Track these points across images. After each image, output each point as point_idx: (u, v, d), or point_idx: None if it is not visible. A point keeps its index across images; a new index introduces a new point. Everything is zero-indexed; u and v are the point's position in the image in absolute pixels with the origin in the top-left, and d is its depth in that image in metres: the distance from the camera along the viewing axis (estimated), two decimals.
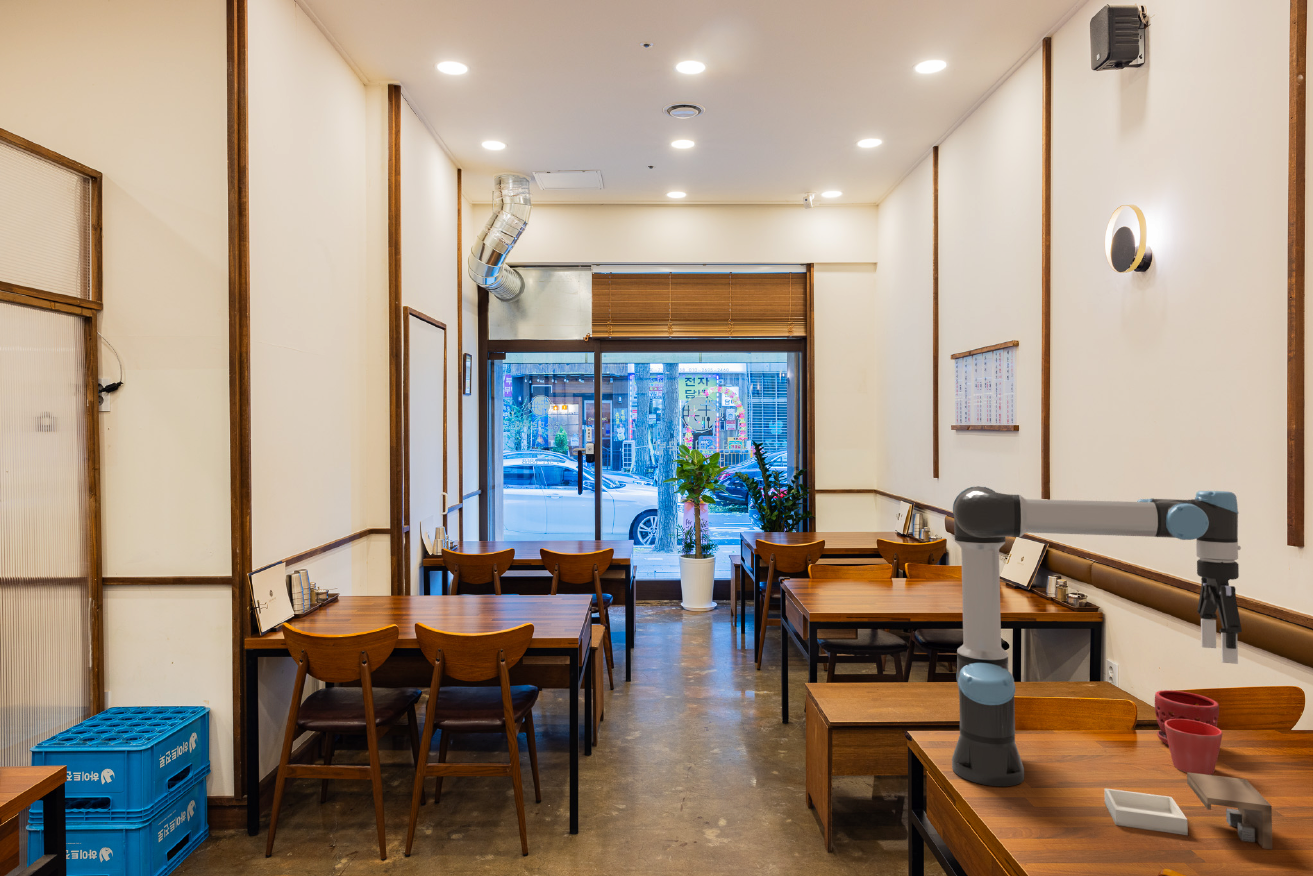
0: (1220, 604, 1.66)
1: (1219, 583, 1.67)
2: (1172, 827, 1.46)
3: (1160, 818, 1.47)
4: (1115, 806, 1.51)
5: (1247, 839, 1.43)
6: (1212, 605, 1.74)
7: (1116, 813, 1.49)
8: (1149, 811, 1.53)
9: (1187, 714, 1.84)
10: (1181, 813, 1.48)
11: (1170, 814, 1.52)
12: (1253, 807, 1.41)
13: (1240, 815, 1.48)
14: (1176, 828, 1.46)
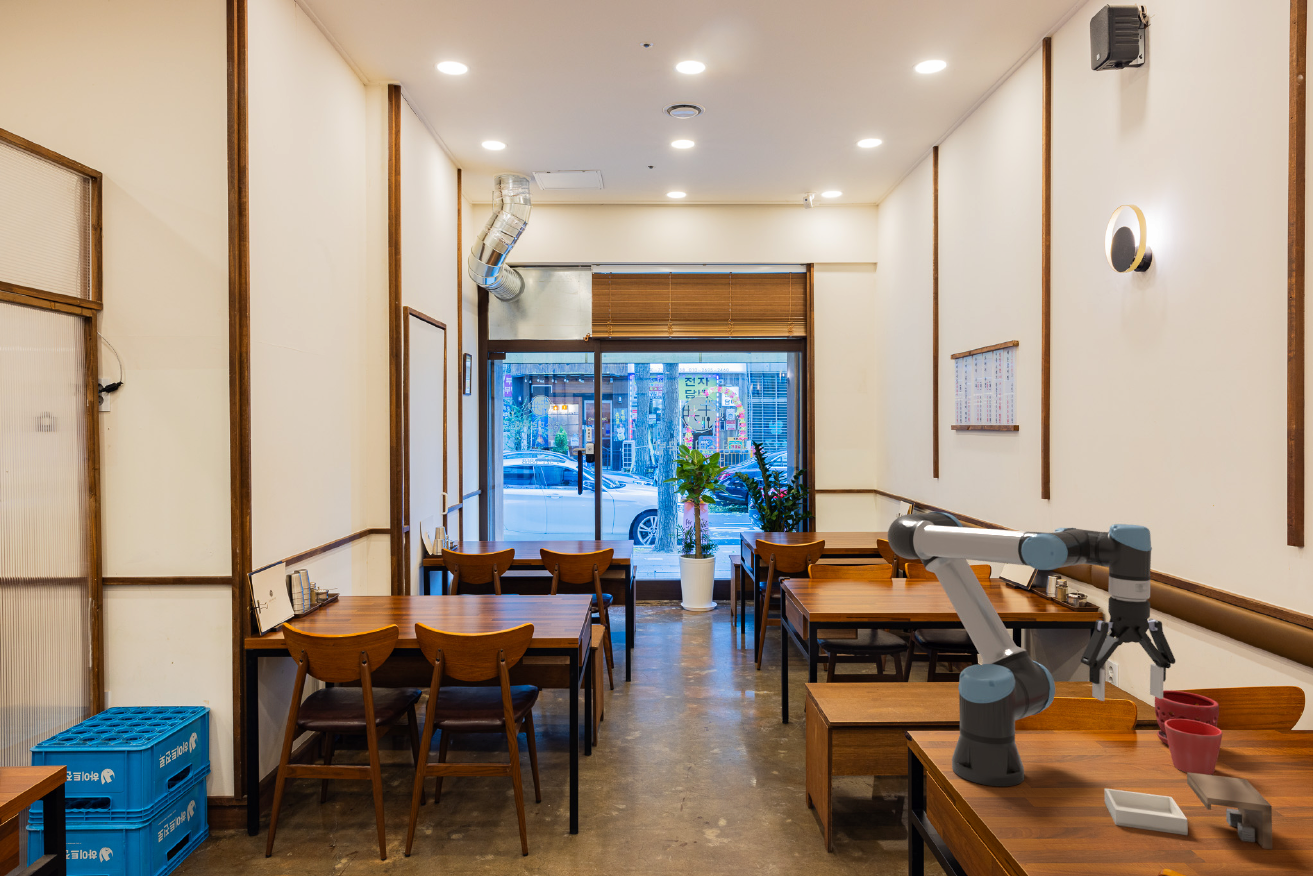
0: (1106, 640, 1.62)
1: (1110, 619, 1.62)
2: (1172, 827, 1.46)
3: (1160, 818, 1.47)
4: (1115, 806, 1.51)
5: (1247, 839, 1.43)
6: (1147, 649, 1.62)
7: (1116, 813, 1.49)
8: (1149, 811, 1.53)
9: (1187, 714, 1.84)
10: (1181, 813, 1.48)
11: (1170, 814, 1.52)
12: (1253, 807, 1.41)
13: (1240, 815, 1.48)
14: (1176, 828, 1.46)
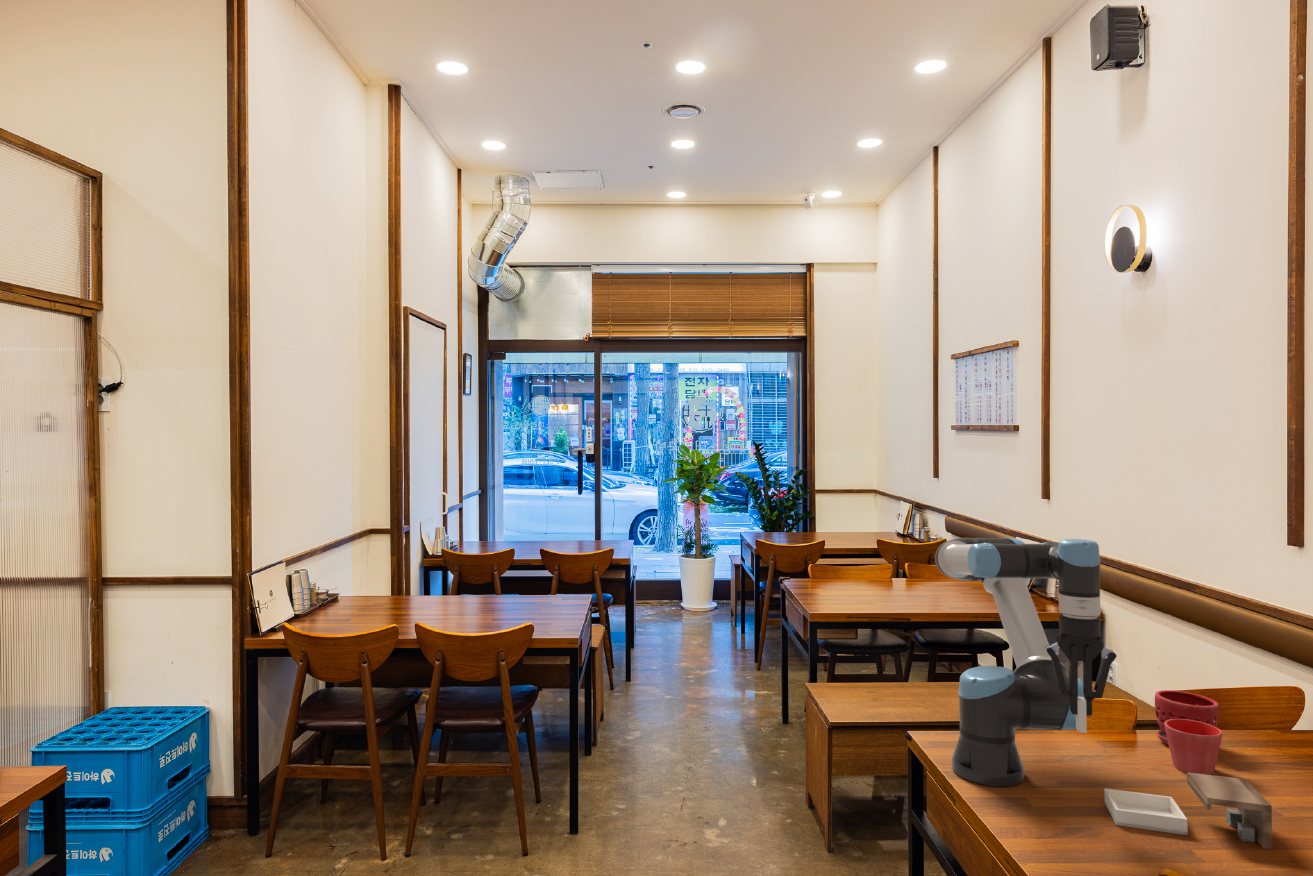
0: (1069, 664, 1.57)
1: None
2: (1172, 827, 1.46)
3: (1160, 818, 1.47)
4: (1115, 806, 1.51)
5: (1247, 839, 1.43)
6: (1084, 674, 1.56)
7: (1116, 813, 1.49)
8: (1149, 811, 1.53)
9: (1187, 714, 1.84)
10: (1181, 813, 1.48)
11: (1170, 814, 1.52)
12: (1253, 807, 1.41)
13: (1240, 815, 1.48)
14: (1176, 828, 1.46)
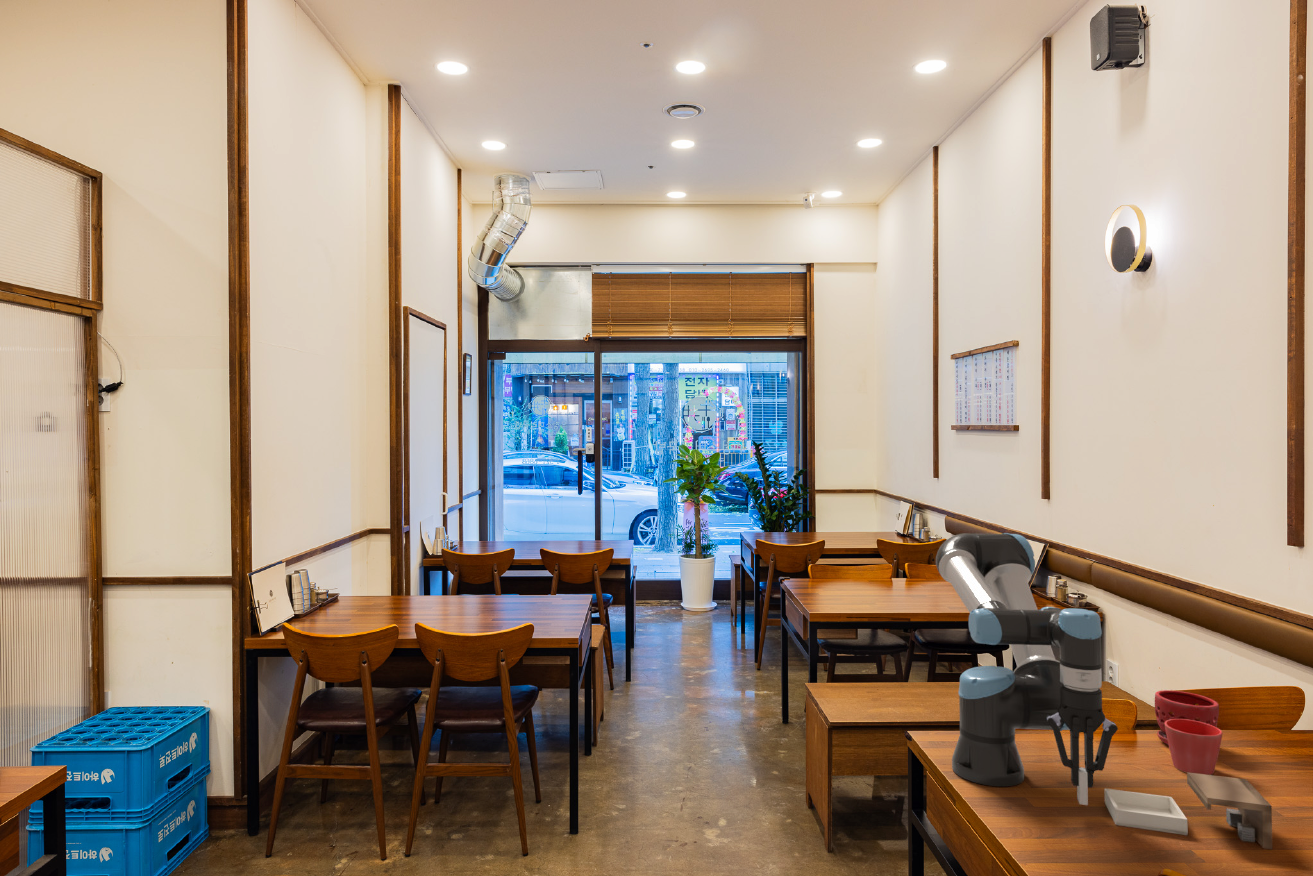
0: (1070, 735, 1.57)
1: None
2: (1172, 827, 1.46)
3: (1160, 818, 1.47)
4: (1115, 806, 1.51)
5: (1247, 839, 1.43)
6: (1085, 745, 1.55)
7: (1116, 813, 1.49)
8: (1149, 811, 1.53)
9: (1187, 714, 1.84)
10: (1181, 813, 1.48)
11: (1170, 814, 1.52)
12: (1253, 807, 1.41)
13: (1240, 815, 1.48)
14: (1176, 828, 1.46)
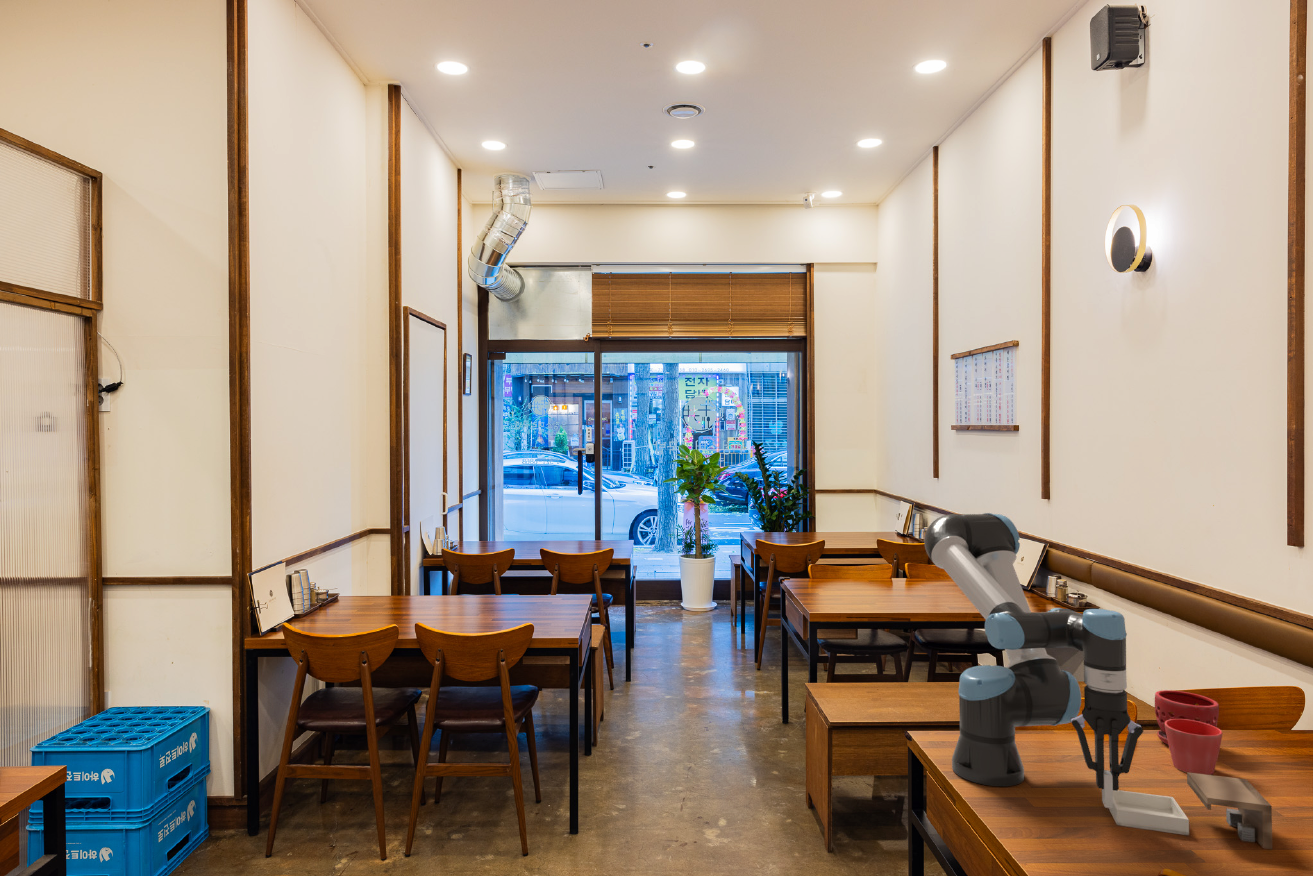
0: (1095, 737, 1.55)
1: None
2: (1173, 827, 1.46)
3: (1161, 818, 1.47)
4: (1116, 806, 1.51)
5: (1247, 839, 1.43)
6: (1110, 747, 1.54)
7: (1117, 813, 1.49)
8: (1150, 811, 1.53)
9: (1187, 714, 1.84)
10: (1182, 813, 1.48)
11: (1171, 814, 1.52)
12: (1253, 807, 1.41)
13: (1240, 815, 1.48)
14: (1177, 828, 1.46)
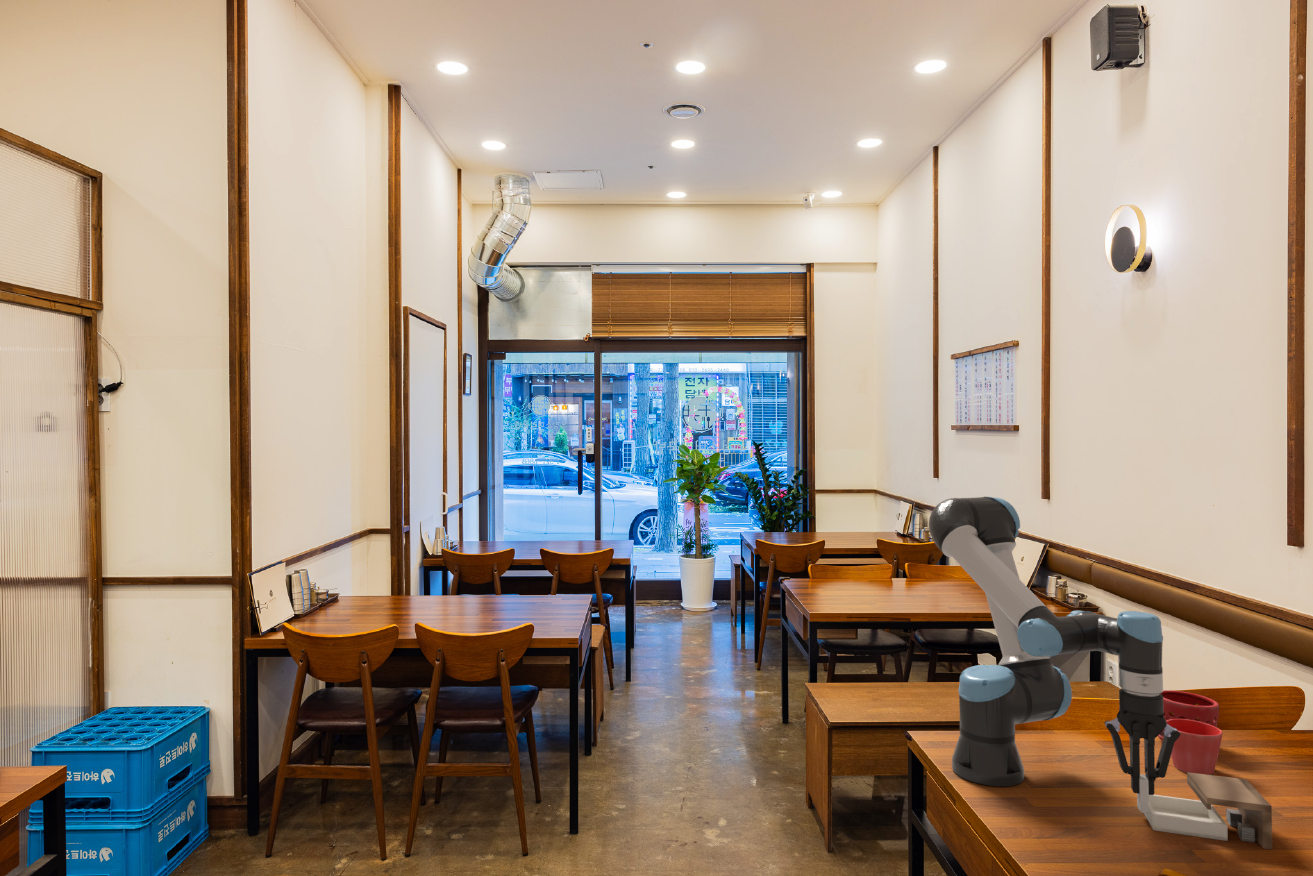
0: (1130, 741, 1.53)
1: None
2: (1211, 833, 1.44)
3: (1199, 823, 1.45)
4: (1152, 811, 1.48)
5: (1247, 839, 1.43)
6: (1146, 751, 1.52)
7: (1154, 818, 1.47)
8: (1187, 816, 1.51)
9: (1187, 714, 1.84)
10: (1220, 818, 1.45)
11: (1208, 819, 1.50)
12: (1253, 807, 1.41)
13: (1240, 815, 1.48)
14: (1216, 834, 1.44)
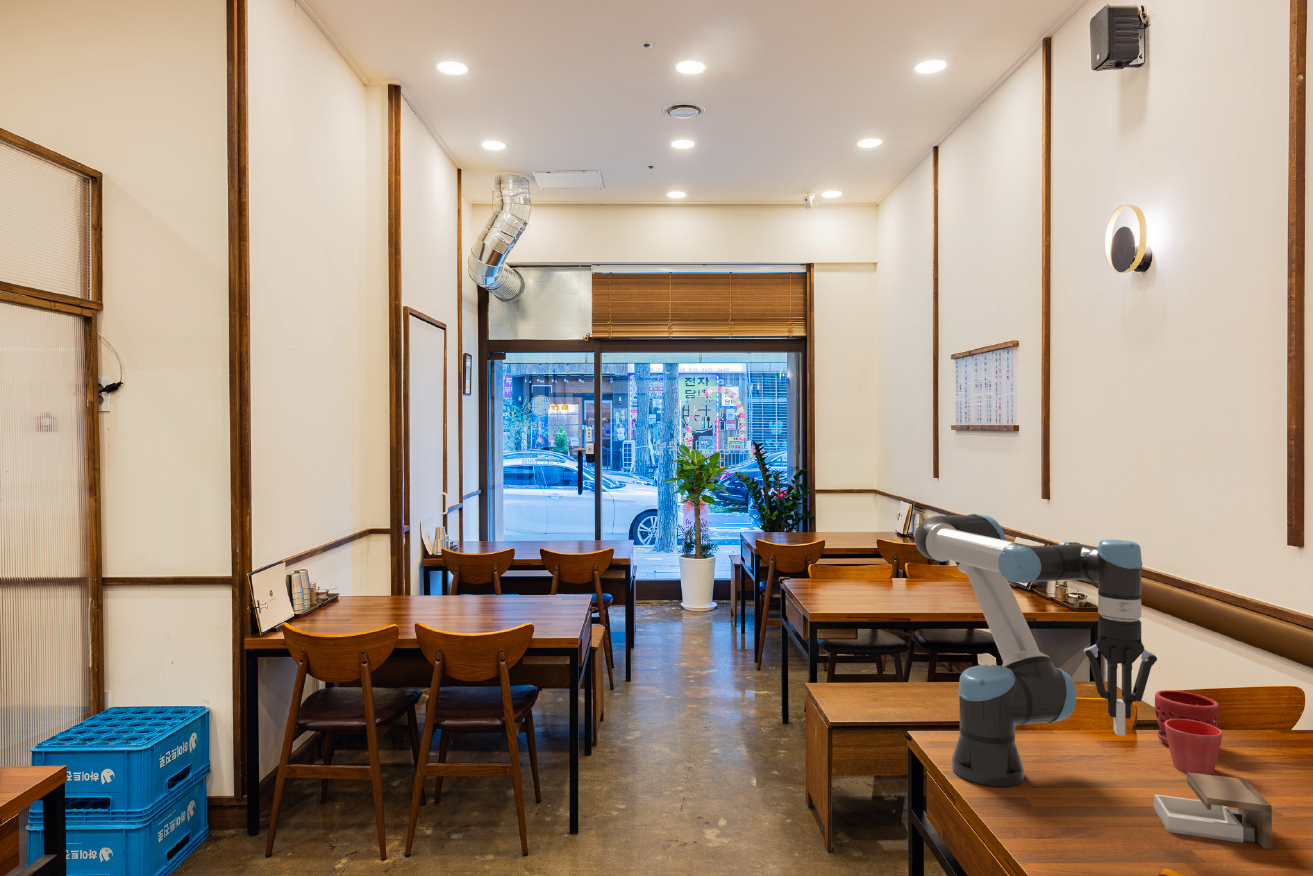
0: None
1: None
2: (1227, 834, 1.43)
3: (1215, 825, 1.44)
4: (1167, 813, 1.48)
5: (1247, 839, 1.43)
6: (1123, 676, 1.54)
7: (1169, 820, 1.46)
8: (1201, 818, 1.51)
9: (1187, 714, 1.84)
10: (1236, 820, 1.45)
11: (1223, 821, 1.49)
12: (1253, 807, 1.41)
13: (1240, 815, 1.48)
14: (1231, 835, 1.43)
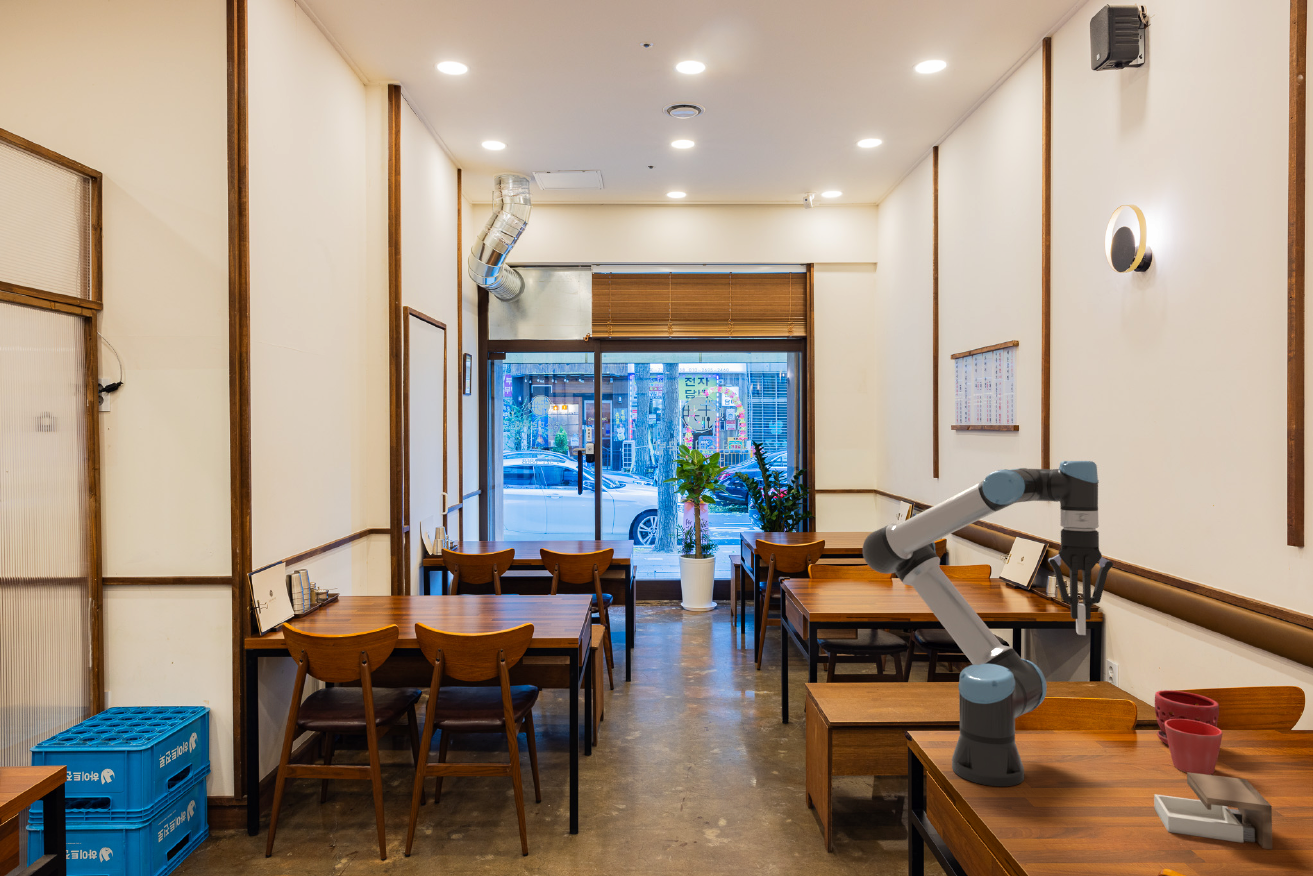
0: (1070, 574, 1.73)
1: None
2: (1227, 834, 1.43)
3: (1215, 825, 1.44)
4: (1167, 813, 1.48)
5: (1247, 839, 1.43)
6: (1083, 582, 1.71)
7: (1169, 820, 1.46)
8: (1201, 818, 1.51)
9: (1187, 714, 1.84)
10: (1236, 820, 1.45)
11: (1223, 821, 1.49)
12: (1253, 807, 1.41)
13: (1240, 815, 1.48)
14: (1231, 835, 1.43)
